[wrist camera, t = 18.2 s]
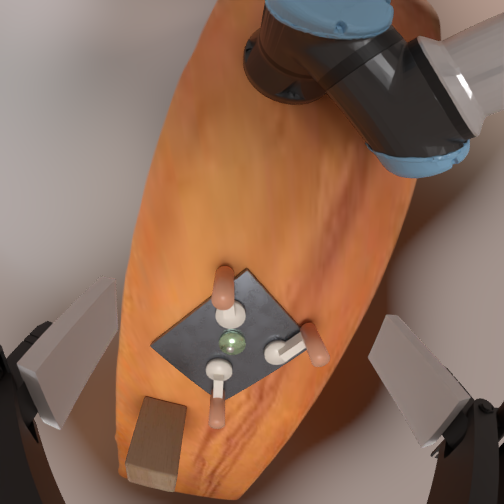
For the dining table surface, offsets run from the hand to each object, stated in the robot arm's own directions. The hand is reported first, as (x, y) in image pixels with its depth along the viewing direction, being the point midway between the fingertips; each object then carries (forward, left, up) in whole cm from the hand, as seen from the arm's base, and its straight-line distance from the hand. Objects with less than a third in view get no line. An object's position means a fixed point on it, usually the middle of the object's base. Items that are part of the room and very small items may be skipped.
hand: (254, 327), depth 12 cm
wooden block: (+44, +24, -33) cm, 60 cm away
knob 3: (+8, +24, -31) cm, 40 cm away
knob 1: (+10, +9, -31) cm, 34 cm away
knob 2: (+24, +22, -31) cm, 45 cm away
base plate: (+17, +18, -33) cm, 41 cm away
